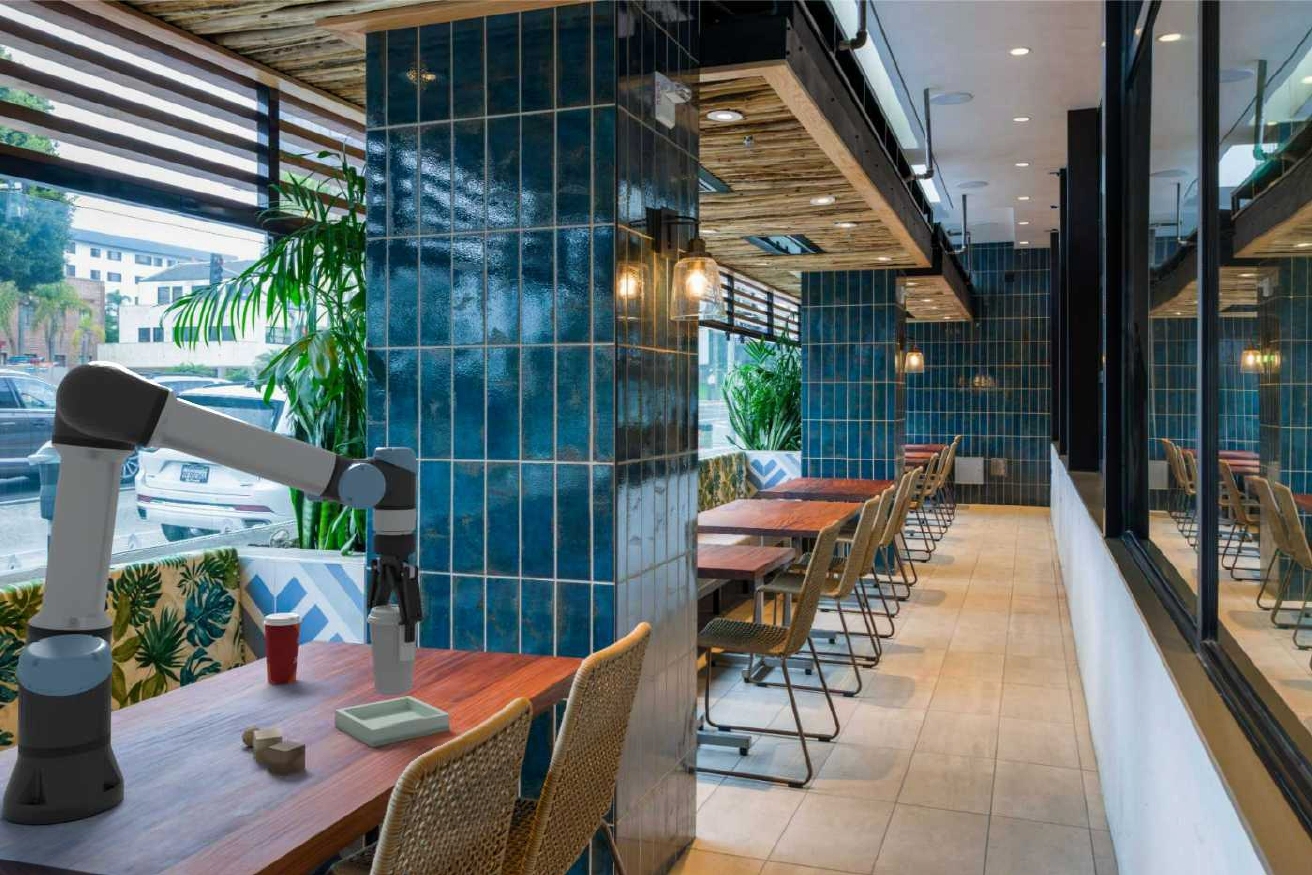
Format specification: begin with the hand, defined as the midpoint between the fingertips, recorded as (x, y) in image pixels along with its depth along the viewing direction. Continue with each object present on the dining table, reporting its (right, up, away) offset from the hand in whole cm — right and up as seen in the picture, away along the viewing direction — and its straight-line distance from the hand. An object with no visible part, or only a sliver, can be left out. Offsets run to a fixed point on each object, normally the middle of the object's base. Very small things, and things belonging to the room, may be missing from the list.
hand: (393, 654), depth 182 cm
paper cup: (-32, -13, +31) cm, 46 cm away
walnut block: (-11, -14, -22) cm, 28 cm away
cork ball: (-21, -13, -11) cm, 27 cm away
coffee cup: (0, -7, 0) cm, 7 cm away
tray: (0, -13, 0) cm, 13 cm away
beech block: (-17, -14, -16) cm, 27 cm away
